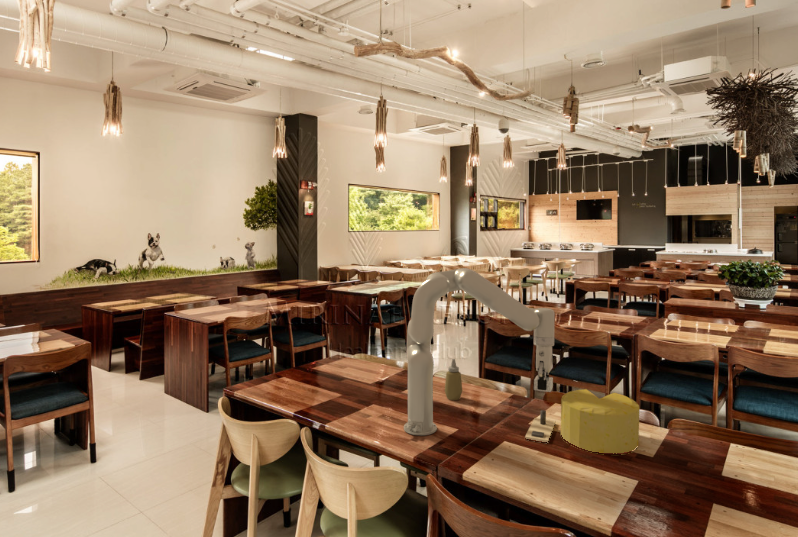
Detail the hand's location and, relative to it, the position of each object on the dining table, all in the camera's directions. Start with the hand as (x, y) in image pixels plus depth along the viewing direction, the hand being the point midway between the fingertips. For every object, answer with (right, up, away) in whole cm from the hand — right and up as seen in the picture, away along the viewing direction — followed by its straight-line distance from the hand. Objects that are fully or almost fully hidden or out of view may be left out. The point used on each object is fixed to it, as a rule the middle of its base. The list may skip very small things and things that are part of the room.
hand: (543, 386), depth 187 cm
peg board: (-2, -16, -3) cm, 17 cm away
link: (0, -1, 0) cm, 1 cm away
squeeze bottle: (-31, -14, +34) cm, 48 cm away
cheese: (+17, -17, -10) cm, 26 cm away
